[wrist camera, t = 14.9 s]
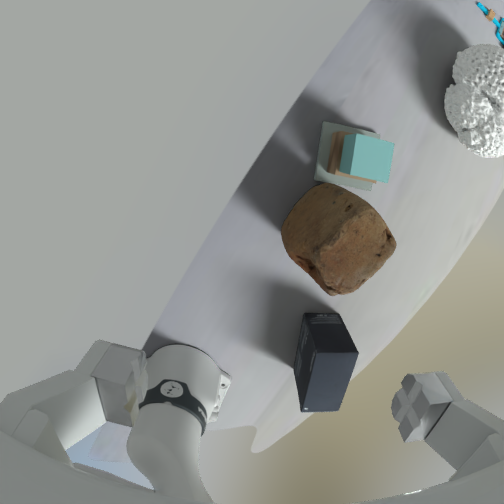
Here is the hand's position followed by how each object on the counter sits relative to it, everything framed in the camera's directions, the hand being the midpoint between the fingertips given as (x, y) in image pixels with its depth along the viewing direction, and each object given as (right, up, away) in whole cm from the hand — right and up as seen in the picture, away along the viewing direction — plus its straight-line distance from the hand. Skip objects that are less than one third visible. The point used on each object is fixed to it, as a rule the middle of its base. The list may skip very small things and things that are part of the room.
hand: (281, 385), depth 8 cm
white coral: (+38, +31, +31) cm, 58 cm away
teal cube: (+13, +16, +29) cm, 36 cm away
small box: (+11, -13, +46) cm, 49 cm away
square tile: (+13, +18, +35) cm, 42 cm away
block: (+9, +10, +38) cm, 40 cm away
